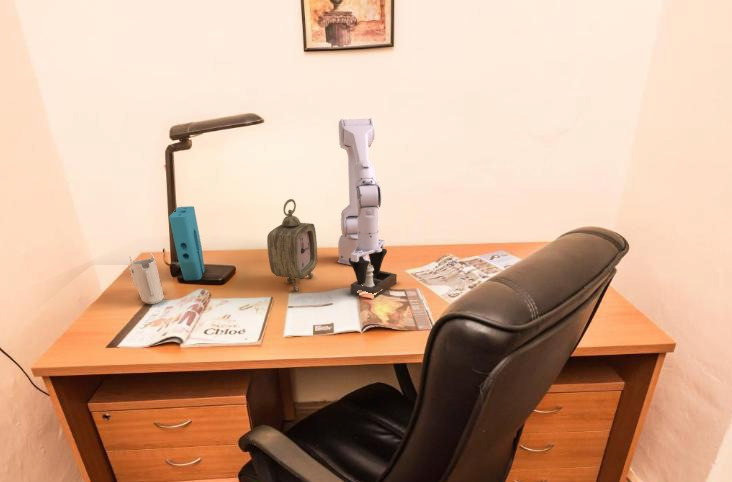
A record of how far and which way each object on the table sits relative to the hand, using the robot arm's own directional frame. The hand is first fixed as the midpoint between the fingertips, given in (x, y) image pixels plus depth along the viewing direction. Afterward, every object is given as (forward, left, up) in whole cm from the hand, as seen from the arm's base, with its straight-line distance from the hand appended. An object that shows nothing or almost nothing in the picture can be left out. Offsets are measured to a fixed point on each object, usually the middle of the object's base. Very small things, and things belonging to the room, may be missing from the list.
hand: (368, 278), depth 138 cm
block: (-54, -17, -5) cm, 57 cm away
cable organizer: (-51, -35, -5) cm, 62 cm away
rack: (0, +3, -4) cm, 5 cm away
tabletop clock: (-22, -6, -5) cm, 24 cm away
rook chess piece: (0, 0, -5) cm, 5 cm away
